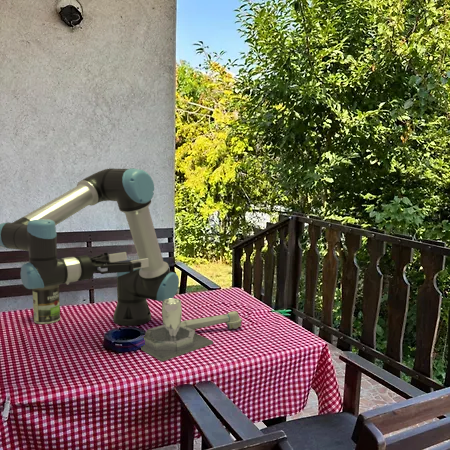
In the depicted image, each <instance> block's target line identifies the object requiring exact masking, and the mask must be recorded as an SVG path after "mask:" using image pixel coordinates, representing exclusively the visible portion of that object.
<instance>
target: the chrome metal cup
mask: <svg viewBox="0 0 450 450" xmlns="http://www.w3.org/2000/svg"><path fill="white" fill-rule="evenodd" d="M182 313H183V311H182V300H181V299H180V298H174V297H173V298H169V299H165V300H163V301H161V320H162V325H164V331H165V336H164V341H172V342H175V341H178V340H181V339H180V333H179V332H180V324H181V322H182V315H183V314H182Z"/></svg>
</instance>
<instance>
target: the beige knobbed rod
mask: <svg viewBox="0 0 450 450" xmlns="http://www.w3.org/2000/svg"><path fill="white" fill-rule="evenodd" d="M242 321H243V319H242V317H240V315H239V312H238V311H236V310H235V311H233V310H232V311H230V312H229V311H228V312H227V313H226V314H219V315H213V316H206V317H200V318H194V319H188V320H187V319H185V320H183V321H182V320H181V324H180V327H183V326H186V327H188V328H191V329H193V330H195V331H196V330H198V329H202V328H203V329H204V328H208V327H212V326H216V325H220V324H226V327H227V329H228V330H232V329H234V330H235V329H239V327H240V328H241V327H242Z"/></svg>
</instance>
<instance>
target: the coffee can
mask: <svg viewBox="0 0 450 450" xmlns="http://www.w3.org/2000/svg"><path fill="white" fill-rule="evenodd" d="M31 290H32V304H33V305H32V307H33V308H32V309H33V323H35V324H38V325H49V324H53V323H56V322H59V321H60V320H61V306H60V305H61V303H60V284H59V285H54V286H49V287H44V288H35V289H31Z"/></svg>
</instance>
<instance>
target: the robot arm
mask: <svg viewBox="0 0 450 450" xmlns="http://www.w3.org/2000/svg"><path fill="white" fill-rule="evenodd" d="M154 191H155V183H154V181H153V178H152V177H151V175H150V174H149V173H148V172H147V171H146V170H143V169H141V168H140V169H139V168H131V167H130V168H114V167H113V168H105V169H102V170H99V171H96V172H95V173H93V174H91V175H89V176H87V177H85V178H83V179H81V180H80V181H79V182H77V184H76V186H75V187H73V188H72V189H70V190H68V191H66V192H64V193H62V194H61V195H59V196H58V197H55V198H54V199H52V200H50V201H48V202H47V203H45V204H44V205H42V206H40V207H38V208H36V209H35V210H33V211H31V212H30V213H29V212H28V214H26V215H23V216H22V217H21V218H20V217H19V218H18V219H17V220H15V221H12V222H2V223H0V247H3V248H6V249H11V250H19V251H20V250H21V251H25V252H28V259H29V260H28V261H29V262H26V263H23V264H22V265H21V267H20V280H21V282H22V286H24V288H25V289H27V290H32V289H35V288H44V287H49V286H54V285H59V286H60V285H63V284H66V285H70V283H74V282H77V281H78V282H81V281H86V280H90V279H92V277H93V275H94V273H97V274H100V275H107V274H116V277H115V278H116V294H117V298H116V299H117V303H116V306H115V310H114V313H113V322H114V323H115V324H117V325H120V326H127V327H128V326H129V327H132V326H139V325H143V324H144V325H145V324H146V323H148V322H150V321H151V320H152V312H151V310H150V306H149V304H148V301H147V300H152V301H156V302H162V301H163V300H165V299H169V298H174V297H175V296H176V294H177V292H178V289H179V284H180V280H179V275H178V274H177V273H175V272H173V271H171V269H170V266H169V263H168V262H167V261H164V258H163V255H162V251H161V248H160V244H159V241H158V237H157V234H156V230H155V227H154V223H153V219H152V215H151V212H150V208H149V207H150V205H151V204H152V199H153V197H154V194H155V193H154ZM107 201H108V202H109V201H111V202H116V203H117V206H118V210H119V211H120V212H121V213H124V215H125V218H126V221H127V224H128V227H129V231H130V234H131V237H132V241H133V245H134V247H135V250H136V254H137V258H138V259H134V260H133V259H132V260H129V261H127V260H128V256H127V254H128V253H127V252H126V251H123V252H116V253H110V254H109V253H108V252H107V251H105V252H103V253H100V254H96V255H94V256H89V255H87V254H86V255H85V254H84V255H76V256H68V257H61V258H58V248H57V247H58V244H57V241H58V240H57V239H58V238H57V236H58V233H57V228H56V226H57V225H59V224H60V223H62V222H63V221H65V220H67V219H68V218H70V217H73V215H75V214H77V213H79V212H80V211H82V210H83V209H85V208H87V207H88V206H95V205H97V204H99V203H101V202H102V203H103V202H107Z"/></svg>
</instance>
